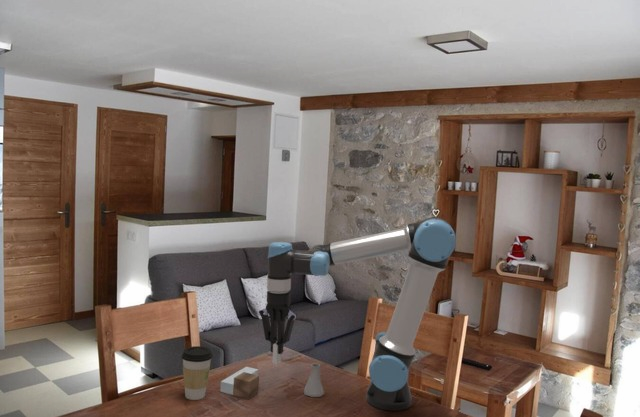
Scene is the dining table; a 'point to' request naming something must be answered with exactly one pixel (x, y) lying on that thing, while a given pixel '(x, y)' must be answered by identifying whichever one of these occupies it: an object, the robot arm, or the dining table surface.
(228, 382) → the white rectangular block
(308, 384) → the flask
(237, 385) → the walnut block
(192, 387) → the coffee cup
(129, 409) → the dining table surface
